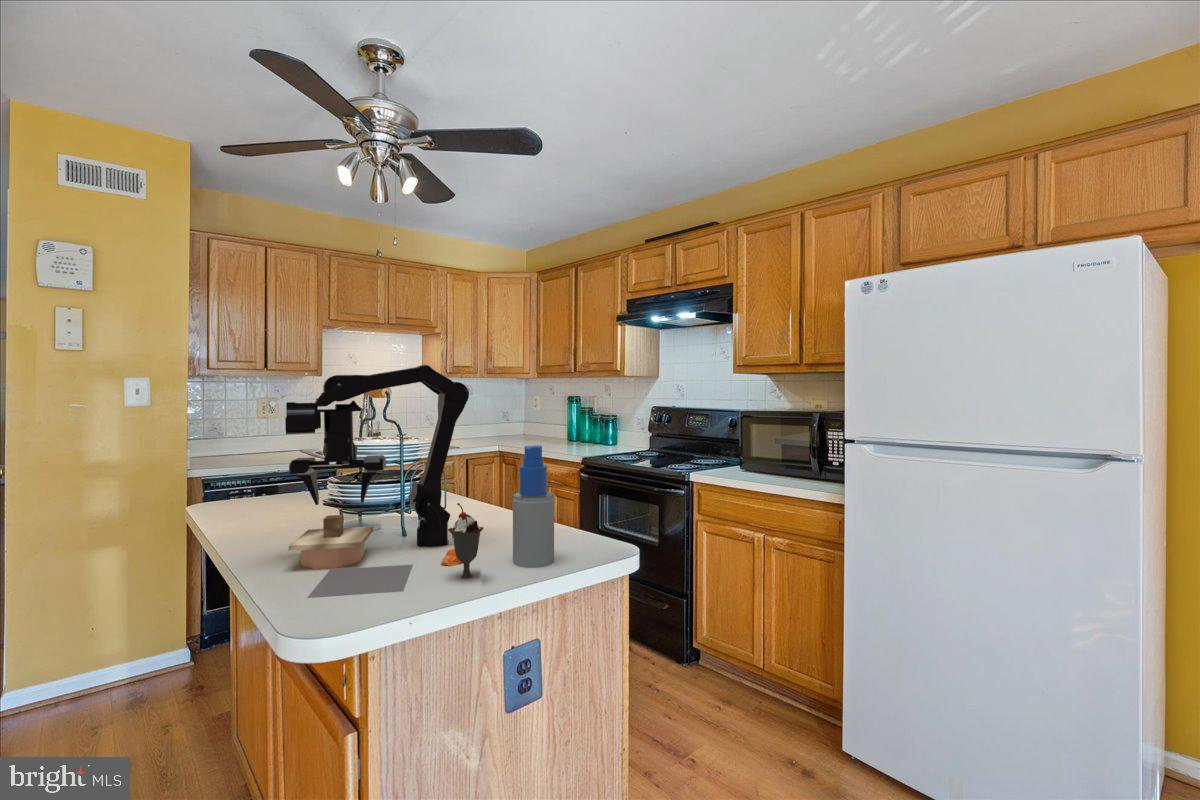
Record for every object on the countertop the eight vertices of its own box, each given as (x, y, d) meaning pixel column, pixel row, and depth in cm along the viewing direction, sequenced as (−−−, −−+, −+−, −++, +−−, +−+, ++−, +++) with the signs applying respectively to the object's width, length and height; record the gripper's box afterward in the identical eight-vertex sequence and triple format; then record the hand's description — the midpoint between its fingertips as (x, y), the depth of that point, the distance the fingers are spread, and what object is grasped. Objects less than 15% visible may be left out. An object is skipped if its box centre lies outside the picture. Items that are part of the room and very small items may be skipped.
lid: (373, 530, 131) (373, 509, 131) (361, 547, 117) (360, 522, 117) (308, 534, 128) (308, 511, 128) (288, 550, 115) (288, 525, 114)
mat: (413, 568, 119) (413, 564, 119) (403, 595, 104) (403, 591, 104) (330, 573, 116) (330, 569, 116) (307, 602, 100) (307, 597, 100)
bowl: (367, 554, 130) (367, 532, 130) (356, 570, 118) (356, 545, 118) (311, 557, 127) (311, 534, 127) (295, 573, 116) (295, 549, 116)
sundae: (451, 575, 115) (451, 500, 115) (485, 574, 115) (485, 500, 115) (445, 586, 108) (445, 507, 108) (481, 585, 109) (481, 506, 109)
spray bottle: (535, 552, 131) (535, 443, 130) (562, 560, 125) (562, 445, 124) (504, 561, 124) (504, 446, 124) (531, 570, 118) (530, 448, 118)
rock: (416, 577, 116) (415, 556, 116) (436, 559, 128) (436, 540, 128) (474, 577, 116) (473, 556, 115) (489, 559, 128) (489, 540, 128)
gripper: (388, 428, 136) (389, 494, 136) (302, 430, 131) (303, 498, 132) (382, 432, 125) (383, 504, 125) (287, 434, 120) (289, 508, 121)
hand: (340, 503), depth 126 cm, fingers open, 9 cm apart
